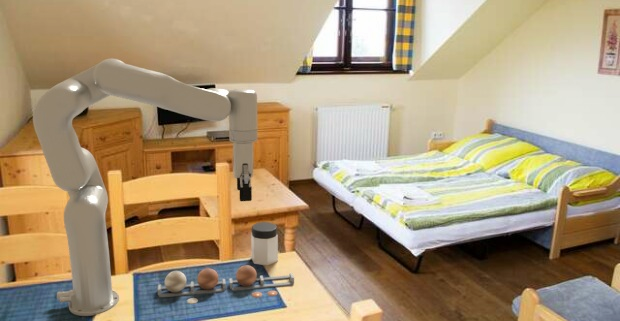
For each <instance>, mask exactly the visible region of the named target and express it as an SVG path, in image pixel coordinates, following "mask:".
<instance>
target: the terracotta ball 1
mask: <svg viewBox="0 0 620 321" xmlns="http://www.w3.org/2000/svg"><path fill="white" fill-rule="evenodd" d="M219 279H220V278H219V274H218V272H217V271H216V270H215V269H213V268H209V267H206V268H204V269H201V271H200V272H198V275H197V278H196V280H197V284H199V286H200V287H199V288H201V289H202V290H210V289H215V287H216V286H218V285H217V283H218V282H219V281H220V280H219Z"/></svg>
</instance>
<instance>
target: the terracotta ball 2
mask: <svg viewBox="0 0 620 321" xmlns="http://www.w3.org/2000/svg"><path fill="white" fill-rule="evenodd" d="M256 270H257V269H255V268H254V267H253V266H251V265H250V264H244V265H242V266H240V267H239V268H238V269H237V270H236V273H235V280H237V281H238V283H237V284H239V285H240V286H253V285H254V283H256V282H255V280H256V278H258V275H257V271H256Z"/></svg>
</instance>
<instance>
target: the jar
mask: <svg viewBox="0 0 620 321" xmlns="http://www.w3.org/2000/svg"><path fill="white" fill-rule="evenodd" d="M250 242H251V243H250V245H251V247H250V250H251V251H250V252H251V253H250V254H251V260H252V262H253V264H254V265H259V266H260V265H262V266H270V265H273V264H274V263H277V262H278V261H279V254H278V253H279V252H278V251H279V236H278V225H277V224H276V223H273V222H268V221H267V222H266V221H265V222H264V221H263V222H262V221H261V222H260V221H259V222H256V223H254V224H253V225H251V233H250Z"/></svg>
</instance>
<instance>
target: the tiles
mask: <svg viewBox="0 0 620 321" xmlns="http://www.w3.org/2000/svg"><path fill="white" fill-rule="evenodd" d="M278 293H279V292H278V291H277V290H269V291H266V294H267V296H270V297H274V296H277V295H278ZM262 296H263V293H262V292H260V291H255V292H254V291H253V292H252V293H251V297H252V298H261V297H262ZM198 302H199V299H198V298H195V297H191V298H188V299H187V300H186V303H187V304H190V305H193V304H197V303H198Z"/></svg>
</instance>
